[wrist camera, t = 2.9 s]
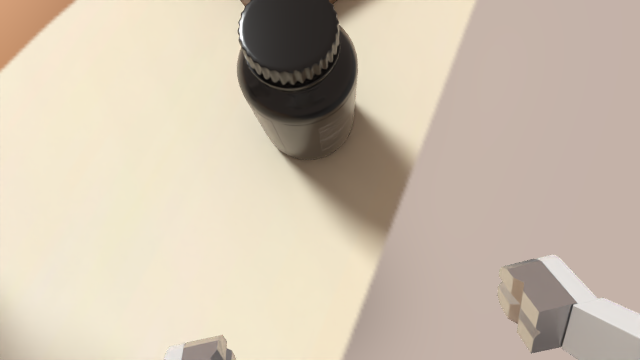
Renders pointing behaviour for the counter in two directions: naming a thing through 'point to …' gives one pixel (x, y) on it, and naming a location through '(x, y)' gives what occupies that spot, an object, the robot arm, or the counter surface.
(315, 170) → the counter surface
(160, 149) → the counter surface
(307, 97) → the supplement bottle
